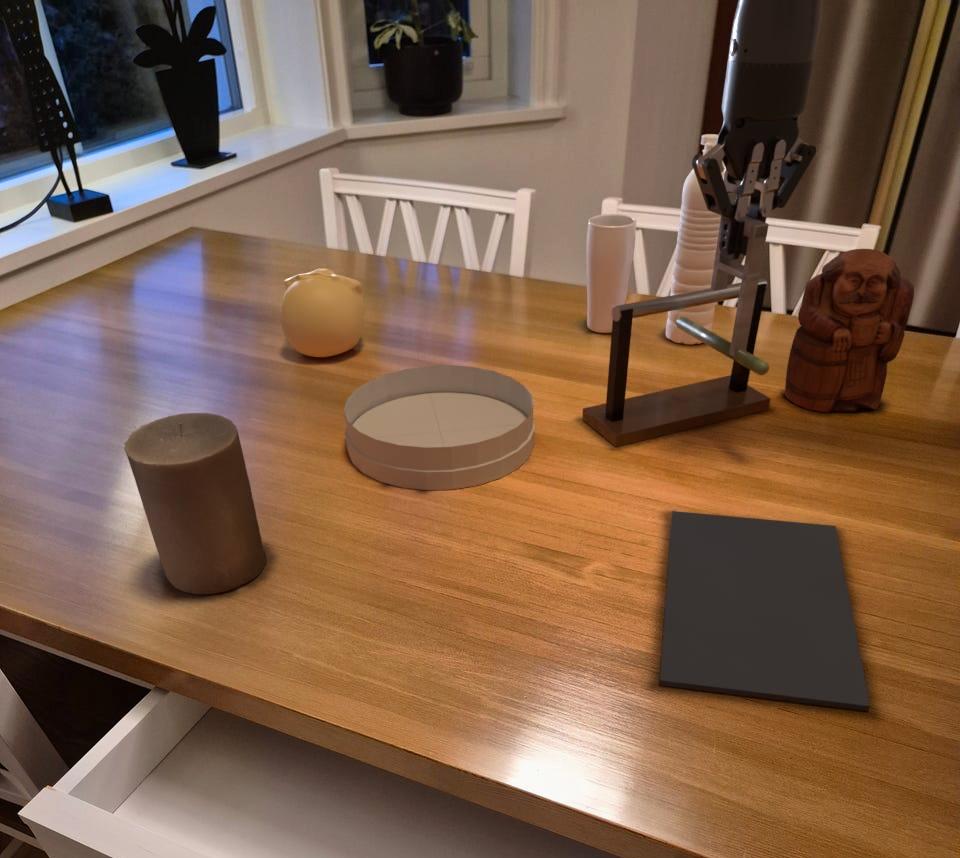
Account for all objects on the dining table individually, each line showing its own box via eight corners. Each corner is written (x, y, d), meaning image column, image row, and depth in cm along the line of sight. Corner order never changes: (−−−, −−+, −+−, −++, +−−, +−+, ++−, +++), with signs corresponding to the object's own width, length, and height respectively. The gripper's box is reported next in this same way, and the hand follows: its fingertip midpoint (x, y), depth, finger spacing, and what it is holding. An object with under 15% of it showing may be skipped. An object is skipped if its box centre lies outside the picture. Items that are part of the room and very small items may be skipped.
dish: (351, 499, 92) (345, 457, 89) (343, 410, 109) (338, 372, 106) (553, 479, 95) (554, 438, 92) (515, 395, 111) (515, 358, 108)
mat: (671, 515, 89) (672, 510, 88) (834, 530, 86) (835, 525, 86) (658, 685, 69) (659, 680, 69) (868, 711, 67) (870, 706, 66)
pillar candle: (282, 543, 86) (253, 402, 76) (240, 602, 79) (203, 454, 69) (193, 533, 88) (154, 394, 78) (144, 589, 81) (95, 443, 71)
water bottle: (712, 345, 123) (743, 147, 107) (666, 344, 124) (690, 147, 108) (707, 323, 130) (735, 133, 113) (663, 322, 130) (685, 134, 114)
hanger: (771, 375, 90) (799, 235, 81) (758, 378, 90) (785, 237, 81) (683, 326, 102) (700, 198, 93) (672, 328, 101) (687, 200, 92)
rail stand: (768, 409, 107) (794, 287, 97) (616, 447, 100) (627, 319, 91) (729, 385, 113) (749, 267, 103) (582, 419, 106) (589, 296, 96)
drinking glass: (576, 333, 128) (581, 224, 118) (588, 317, 132) (595, 212, 123) (620, 338, 126) (630, 228, 116) (632, 322, 130) (642, 215, 121)
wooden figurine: (789, 412, 106) (823, 259, 95) (778, 391, 111) (810, 242, 99) (887, 413, 105) (934, 259, 94) (872, 391, 110) (915, 242, 99)
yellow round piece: (376, 335, 129) (368, 259, 122) (353, 367, 120) (343, 287, 113) (303, 332, 130) (291, 257, 123) (275, 363, 121) (260, 284, 114)
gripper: (734, 64, 73) (704, 276, 84) (860, 52, 77) (816, 256, 88) (683, 55, 78) (661, 256, 89) (804, 44, 82) (769, 237, 93)
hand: (738, 255), depth 89 cm, fingers closed on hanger, 1 cm apart
